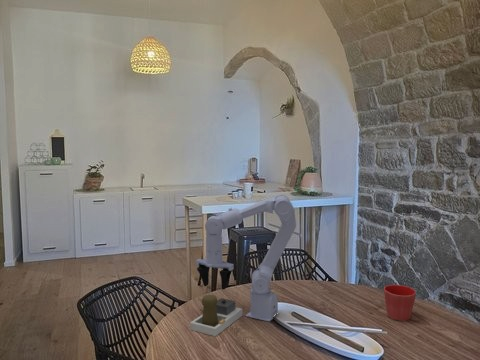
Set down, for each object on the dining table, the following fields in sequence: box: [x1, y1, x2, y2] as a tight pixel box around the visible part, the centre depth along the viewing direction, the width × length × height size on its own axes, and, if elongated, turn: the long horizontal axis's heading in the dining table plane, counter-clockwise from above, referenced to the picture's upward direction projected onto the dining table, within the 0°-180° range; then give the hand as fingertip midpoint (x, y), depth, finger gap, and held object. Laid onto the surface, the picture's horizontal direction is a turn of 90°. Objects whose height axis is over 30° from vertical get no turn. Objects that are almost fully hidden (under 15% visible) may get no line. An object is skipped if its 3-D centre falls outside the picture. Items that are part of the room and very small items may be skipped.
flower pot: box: [383, 284, 417, 322], centre depth 146 cm, size 11×11×10 cm
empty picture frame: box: [189, 297, 243, 337], centre depth 143 cm, size 10×18×6 cm, turn 151°
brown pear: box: [201, 294, 219, 327], centre depth 138 cm, size 6×6×11 cm
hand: (215, 287), depth 148 cm, fingers open, 7 cm apart
